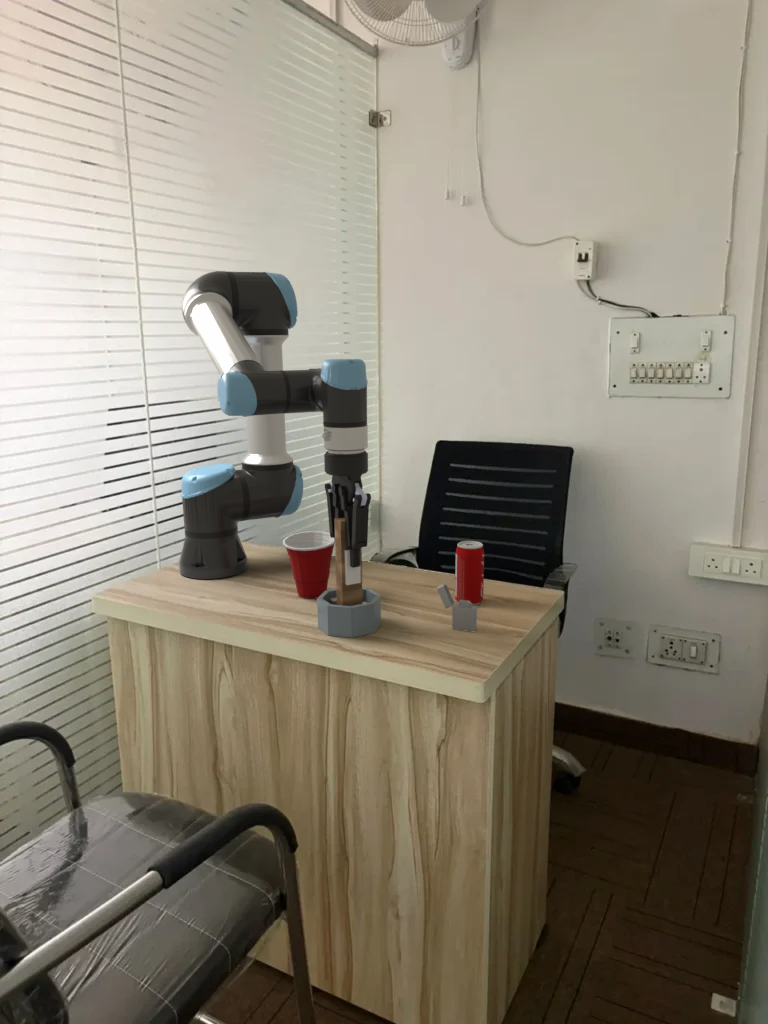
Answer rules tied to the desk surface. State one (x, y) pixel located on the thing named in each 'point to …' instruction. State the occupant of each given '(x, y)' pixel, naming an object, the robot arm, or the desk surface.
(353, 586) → the brown wooden block
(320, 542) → the plastic cup
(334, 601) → the clip
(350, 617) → the grey faceted bowl
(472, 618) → the lighter
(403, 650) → the desk surface
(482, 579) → the soda can
